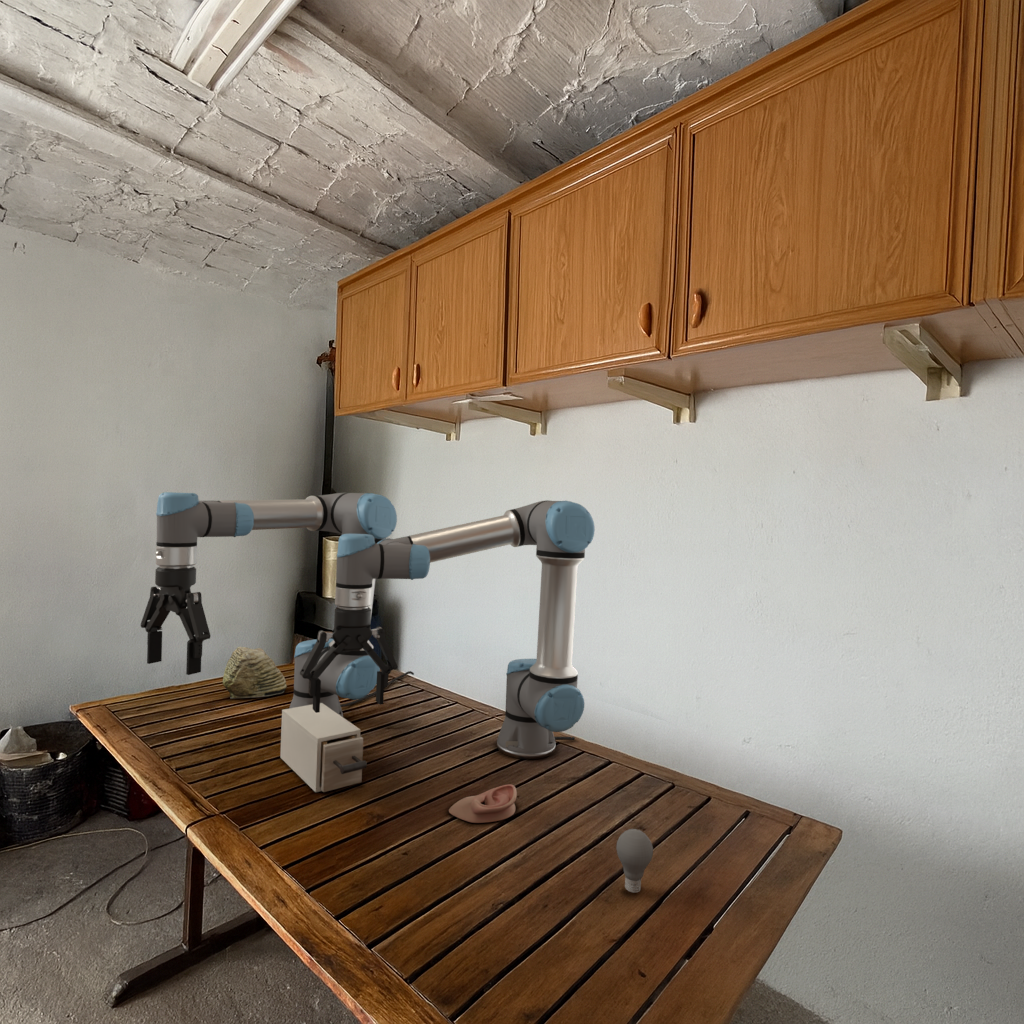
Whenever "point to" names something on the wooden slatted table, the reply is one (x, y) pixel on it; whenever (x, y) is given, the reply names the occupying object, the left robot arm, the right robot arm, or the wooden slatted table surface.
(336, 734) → the cabinet
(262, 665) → the fossil
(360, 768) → the drawer
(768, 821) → the wooden slatted table surface
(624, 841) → the light bulb
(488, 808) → the anatomical model
